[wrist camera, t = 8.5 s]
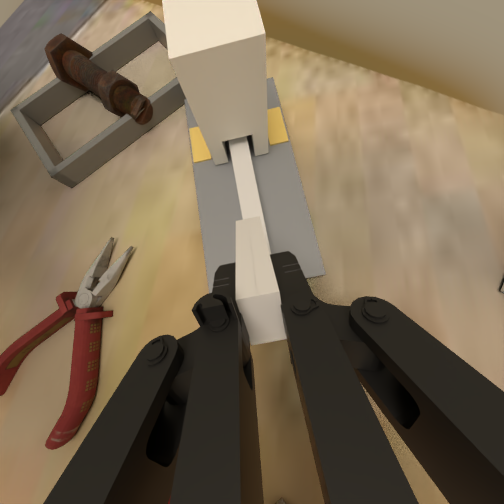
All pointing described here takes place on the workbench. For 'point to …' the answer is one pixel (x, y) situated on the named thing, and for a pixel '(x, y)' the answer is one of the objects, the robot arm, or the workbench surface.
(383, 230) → the workbench surface
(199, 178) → the rail board
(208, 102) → the cream upright block
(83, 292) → the pliers
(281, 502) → the bracket parts frame
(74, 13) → the workbench surface
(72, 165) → the bolt parts frame
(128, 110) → the bolt
